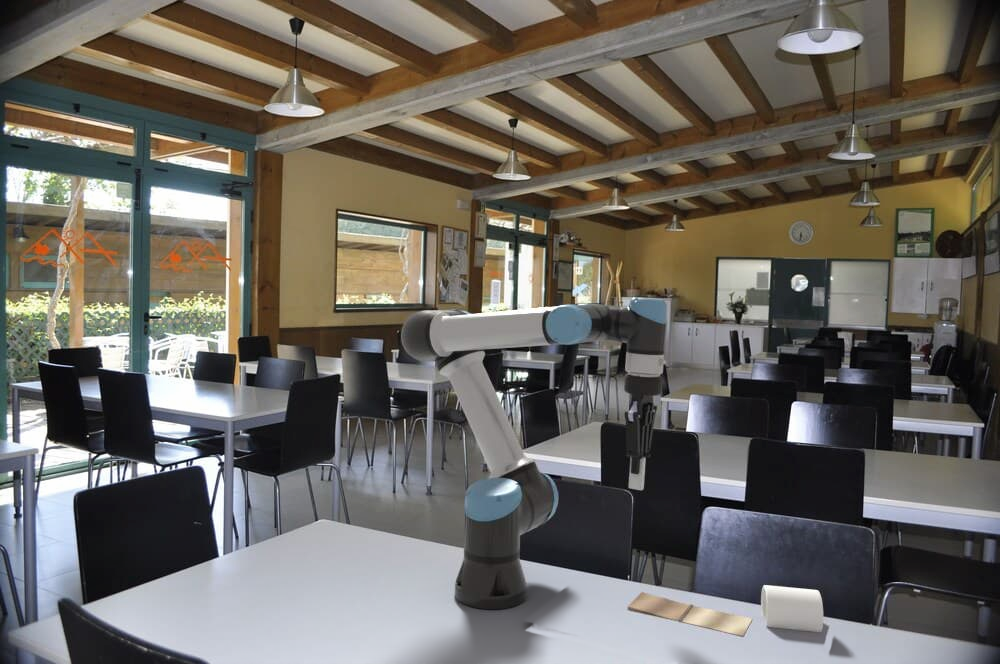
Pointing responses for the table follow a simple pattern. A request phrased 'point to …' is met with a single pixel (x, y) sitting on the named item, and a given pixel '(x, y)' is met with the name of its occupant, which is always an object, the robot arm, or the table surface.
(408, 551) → the table surface
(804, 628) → the mug
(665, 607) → the plank
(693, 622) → the floorboard
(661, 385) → the robot arm
